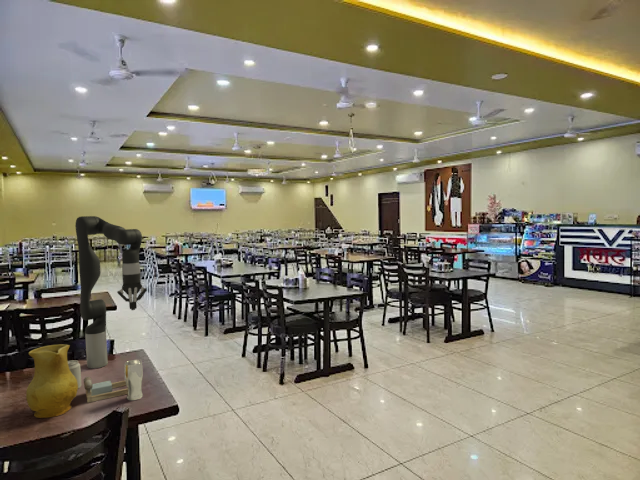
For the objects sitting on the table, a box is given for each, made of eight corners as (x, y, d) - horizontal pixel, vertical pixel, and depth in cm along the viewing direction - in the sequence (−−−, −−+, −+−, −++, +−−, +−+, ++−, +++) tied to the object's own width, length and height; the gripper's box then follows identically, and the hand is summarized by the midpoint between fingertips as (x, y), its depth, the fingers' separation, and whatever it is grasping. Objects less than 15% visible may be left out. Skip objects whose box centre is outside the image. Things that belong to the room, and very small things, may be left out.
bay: (84, 393, 181) (83, 376, 180) (126, 384, 190) (125, 368, 189) (85, 403, 172) (84, 385, 171) (130, 393, 180) (129, 376, 180)
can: (58, 390, 184) (56, 363, 183) (74, 384, 191) (73, 358, 190) (68, 393, 181) (66, 366, 180) (85, 387, 187) (83, 360, 187)
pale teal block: (90, 393, 181) (89, 384, 181) (110, 389, 185) (110, 380, 185) (91, 398, 176) (90, 389, 176) (112, 394, 180) (111, 385, 180)
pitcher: (21, 424, 154) (20, 356, 154) (32, 406, 171) (31, 344, 171) (75, 416, 161) (74, 350, 161) (81, 399, 178) (80, 339, 178)
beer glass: (126, 402, 172) (124, 366, 171) (125, 396, 178) (123, 361, 177) (144, 398, 175) (143, 363, 174) (143, 392, 181) (141, 358, 180)
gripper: (145, 270, 201) (146, 306, 202) (114, 273, 194) (116, 310, 195) (148, 272, 195) (149, 309, 196) (116, 275, 188) (118, 313, 189)
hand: (133, 309), depth 196 cm, fingers closed
